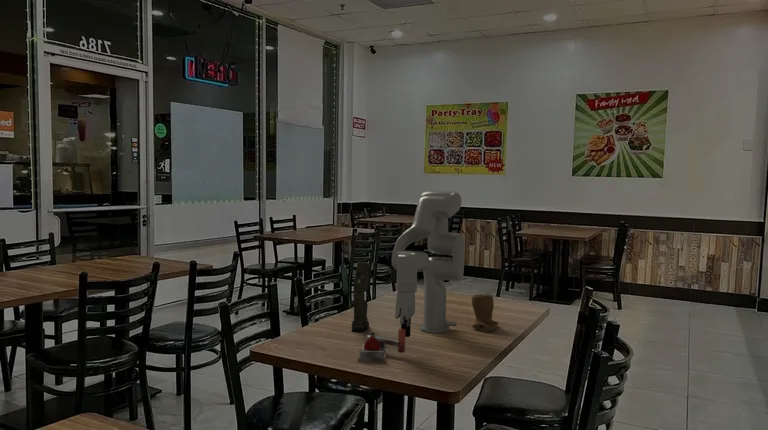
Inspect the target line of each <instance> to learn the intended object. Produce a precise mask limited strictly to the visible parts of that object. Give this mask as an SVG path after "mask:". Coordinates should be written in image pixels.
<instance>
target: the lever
mask: <svg viewBox="0 0 768 430" xmlns="http://www.w3.org/2000/svg"><path fill="white" fill-rule="evenodd" d="M405 333H406V329H405V328H401V327H399V328H398V334H397V339H394V338H389V337H383V336H379V335H378V334H376V333H375V335H373V336H374V338H376V339H377V340H378V342H379V344H380V349H383V350H384V349H385V350H386V349H387V345H388V346H393V347H394V346H395V347H397V352H398V353H402V354H403V353H405V352H406V337H405ZM365 336H366V340H367V339H369V338H370V336H371V335H370V333H368V334H366V335H365ZM366 340H365V341H366Z"/></svg>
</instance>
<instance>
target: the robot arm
mask: <svg viewBox="0 0 768 430" xmlns="http://www.w3.org/2000/svg"><path fill="white" fill-rule="evenodd" d="M461 207H462V197H461V195H460V193H459V192H457V191H439V190H438V191H437V190H436V191H433V190H431V191H429V190H428V191H424V192H422V193H421V195H420V198H419V199H418V201H417V205H416V210H415V213H414V217H413V219H412V224H411V226H410V227H409V228H407V230H405V231H404V232H403V233H402V234H401V235H400V236H399V237H398V238H397V240H396V242H395V243H394V248H393V250H392V254H391V266H392V267H393V268H394V269H395V270H396V290H395V291H396V293H397V294H396V300H395V312H394V314H395V315H394V318H395V319H396V320H398V319H399V324H400V328H405V329H406V333H405V338H410V337H411V328H412V327H411V324H412V317H413V316H414V315H415V312H416V293H417V292H418V291H417V290H418V289H417V287H418V272H419V273H420V272H423V281H424V284H423V285H424V291H423V292H424V295H423V297H424V298H423V299H424V301H423V323H422V324H421V325H420V326H419V330H420V331H423V332H425V333H429V334H431V333H432V334H443V333H446V332H449V331H450V327H457V325H458V324H457V323H458V322H457V321H454V320H448V319H447V287H446V285H445V283H444V282H443V281H451V282H452V281H453V282H455V281H457V282H458V281H461V280H462V279H463V277H464V271H465V270H464V269H465V254H466V253H465V252H466V251H465V250H466V249H465V248H466V244H465V243H466V242H465V241H466V240H465V237H464V236H463V234H461V233H460V232H459V233H458V232H450V231H449V220H448V218H451V217H453V216H454V215H455V214H456V213H458V211H460V208H461ZM426 238H427V249H428V251H429V253H431V254H437V255H447V256H449V255H450V256H452V257H443V256H441V257H440V256H429V255H428V254H427V253H426V252H424V251H415V250H405V249H406V248H407V247H408V246H409V245H410V244H412V243H414V242H415V243H416V242H417V241H420V240H422V239H426Z"/></svg>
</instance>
